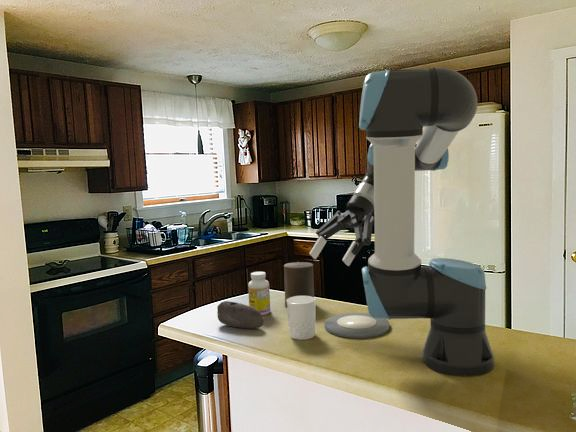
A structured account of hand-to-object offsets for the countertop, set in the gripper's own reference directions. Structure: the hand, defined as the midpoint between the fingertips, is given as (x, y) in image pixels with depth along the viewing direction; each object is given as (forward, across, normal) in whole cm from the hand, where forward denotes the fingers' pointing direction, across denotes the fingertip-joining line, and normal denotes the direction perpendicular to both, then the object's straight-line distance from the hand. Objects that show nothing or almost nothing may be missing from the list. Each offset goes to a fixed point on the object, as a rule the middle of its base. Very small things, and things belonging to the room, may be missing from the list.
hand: (328, 259), depth 135 cm
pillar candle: (+9, +21, -18) cm, 30 cm away
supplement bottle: (+19, +24, -8) cm, 32 cm away
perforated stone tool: (+27, +17, 0) cm, 32 cm away
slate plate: (+10, -6, -16) cm, 21 cm away
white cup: (+22, -1, -6) cm, 22 cm away
